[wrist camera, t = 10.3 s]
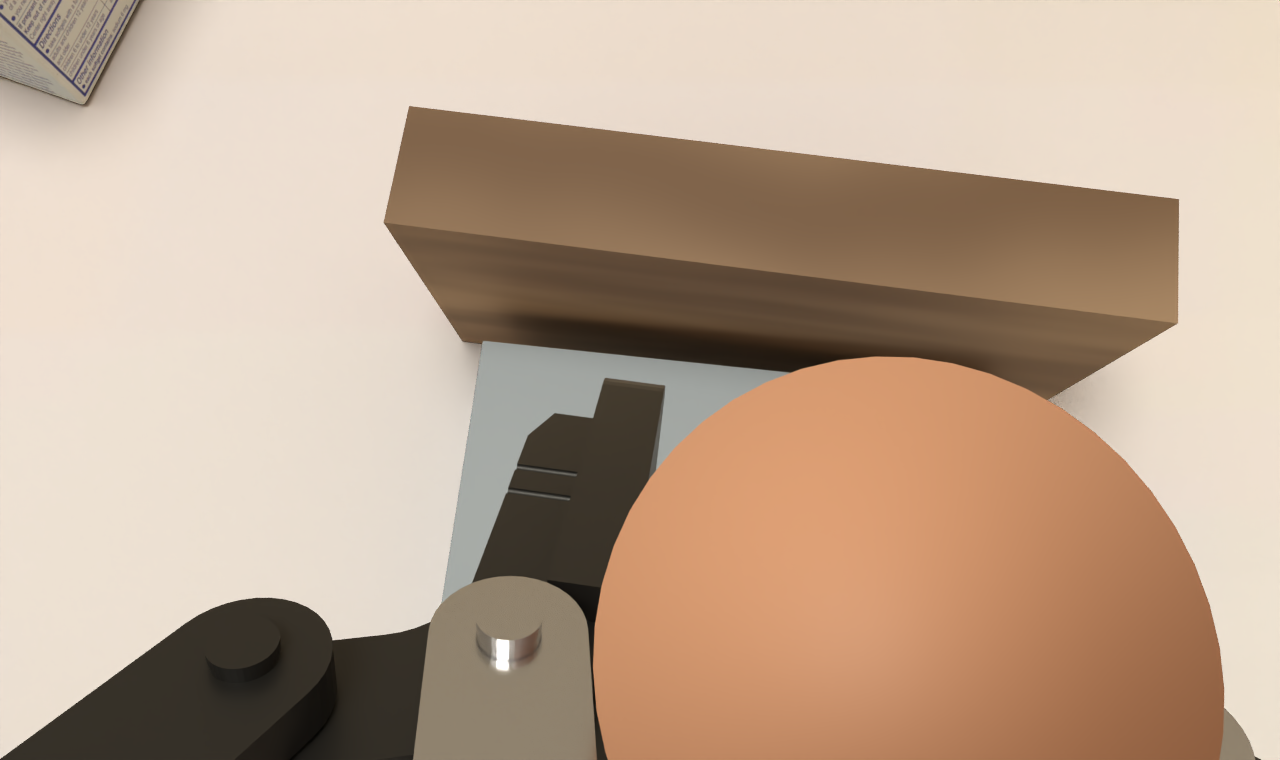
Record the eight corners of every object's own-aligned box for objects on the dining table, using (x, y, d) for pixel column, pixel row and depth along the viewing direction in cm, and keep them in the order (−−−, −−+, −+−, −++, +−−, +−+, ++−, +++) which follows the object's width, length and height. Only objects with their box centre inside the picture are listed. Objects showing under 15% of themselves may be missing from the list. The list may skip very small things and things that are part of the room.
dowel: (593, 606, 15) (479, 556, 6) (777, 489, 16) (970, 252, 6) (713, 808, 14) (825, 1158, 5) (903, 679, 15) (1360, 763, 5)
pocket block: (934, 922, 23) (990, 981, 20) (436, 859, 24) (394, 904, 20) (952, 429, 26) (1004, 394, 22) (507, 382, 27) (482, 340, 23)
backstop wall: (1021, 414, 26) (1177, 323, 18) (462, 340, 27) (383, 222, 19) (1026, 325, 27) (1179, 199, 19) (478, 255, 27) (409, 105, 20)
